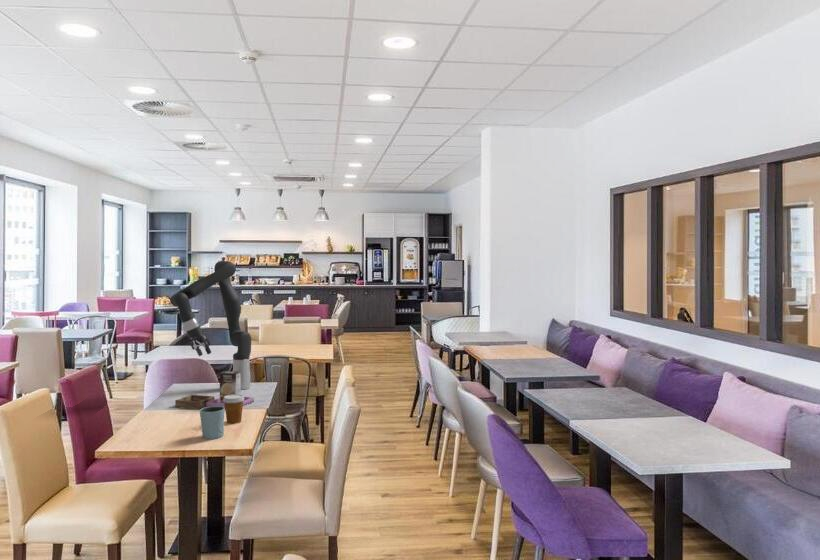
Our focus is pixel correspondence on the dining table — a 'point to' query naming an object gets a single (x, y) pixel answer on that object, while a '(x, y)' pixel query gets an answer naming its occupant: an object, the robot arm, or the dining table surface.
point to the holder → (193, 401)
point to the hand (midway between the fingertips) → (205, 354)
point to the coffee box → (229, 383)
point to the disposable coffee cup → (233, 408)
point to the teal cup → (212, 422)
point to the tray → (217, 403)
